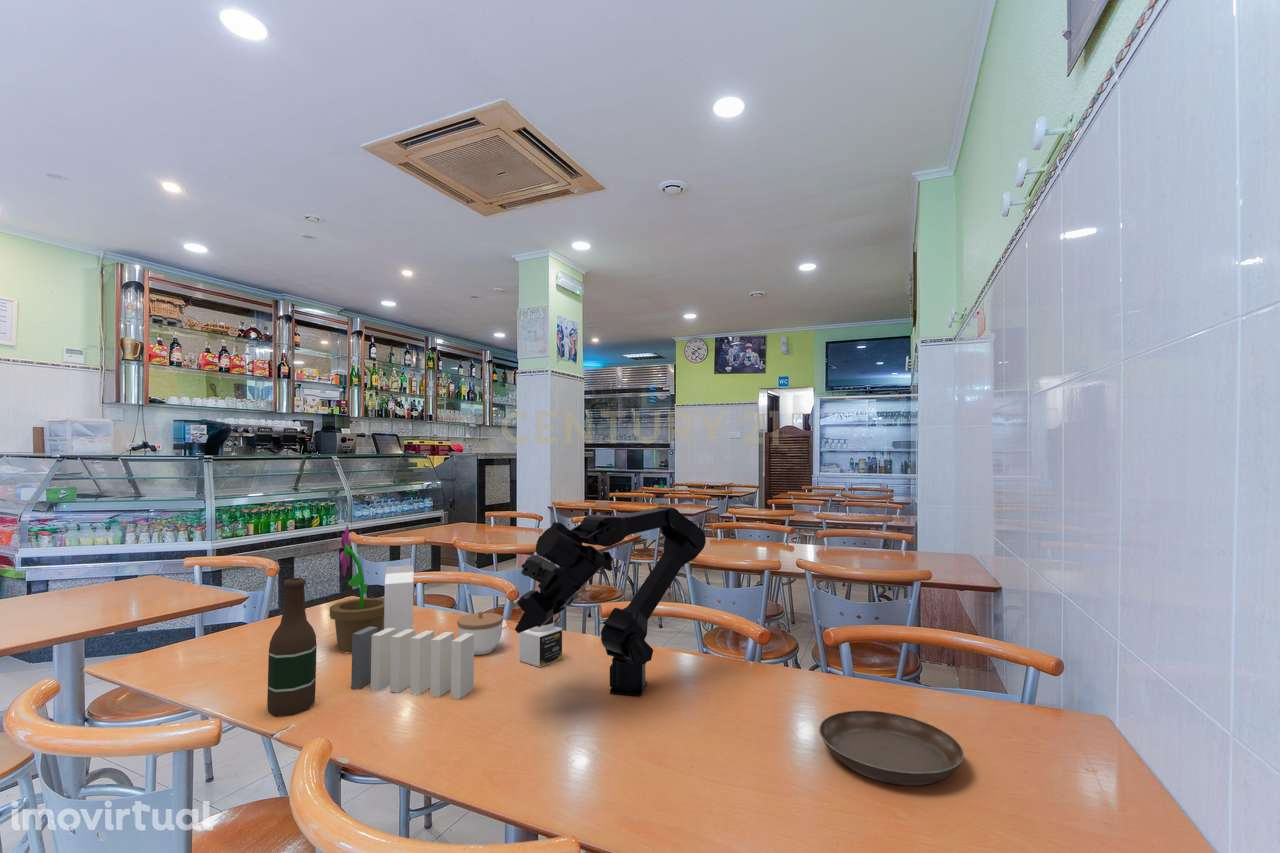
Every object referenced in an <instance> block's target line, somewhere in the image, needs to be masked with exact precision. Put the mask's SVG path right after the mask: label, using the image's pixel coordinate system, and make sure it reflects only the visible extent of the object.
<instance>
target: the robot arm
mask: <svg viewBox="0 0 1280 853" xmlns="http://www.w3.org/2000/svg"><path fill="white" fill-rule="evenodd" d="M655 529H659V531H660V534H661V535H662V536H663V537H664V541H663V553H662V555H661V556H660V558H659V559H658V561H657V562H656V564H655V565H654V566H653V568H652V570H651V571H650V573H649V574H648V575H647V577H646V579H644V581H643V584H642V585H641V586H640V588H639V589H638V591H636V593H635V595H634V596H633V598H632V599H631V601H630V602H629V604H628V605H627V606H626V607H624V608H623V609H621V608H619V607H614V608H612V610H611V612H610V614H609V615H608V617H607V619H606V620H604V621H603V622H602V624H603V626H602V629H601V631H600V635H601V636H600V637H601V638H600V640H601V645H602V646H603V647H604V648H605V652H606V655H607V656H610V657H613V658H612V661H611V662H612V663H611V664H610V665H609V687H610V689H609V694H615V695H626V696H627V695H628V696H635V697H637V696H639V697H640V696H643V693H644V691H645V690H646V688H647V686H648V681H646V665H647V662H650V661H652V658H653V657H652V656H653V654H654V653H653V652H654V648H652V647H651V645H650V644H649V643H647V642H646V641H645V639H646V638H647V634H648V621H649V619H650V617H651V616H652V614H653V613H654V611H655V610H656V608H657V607H658V604H659V603H660V601H661V600H662V598H663V597H664V596H665V593H667V591H668V589H670V588H669V587H670V586H671V584H672V583H673V581H675V578H676V577H677V575H678V574H679V571H681V569H682V568H683V567H684V566H685V565H686V564H688V563H690V562H691V561H693V560H695V559H696V558H697V557H698V556H699V555H700V553H701V552H702V551H703V550H704V548H705V546H706V543H707V541H706V540H707V539H706V535H705V532H704V530H703V529H702V527H699V526H697V524H696V523H695V522H693V521H691V520H690V519H688V518H687V517H685V516H684V515H683V514H682V513H681V512H680V511H679V510H678V509H677V508H676V507H673V506H660V505H659V506H658V507H656V508H650V509H646V510H641V511H637V512H630V513H625V514H620V515H610V514H609V515H605V514H588V515H586V516H584V518H583V520H582V521H581V523H579V524H578V525H576V526H575V527H573V528H572V529H569V528H567V527H566V525H564V523H561V522H557V521H553V522H552V524H551V526H550V527H549V528H547V529H546V530H544V532H543V533H542V534H541V535H540V536H538V539H537V540H536V544H535V552H536V554H537V555H536V554H533V555H531V556H528V557H527V559H525V562H524V563H522V564H521V569H522V570H521V572H520V573H521V574H522V575H523V576H525V577H529V579H533V581H535V582H537V583H538V585H537V587H538V588H539V591H538V590H534V589H533V590H532V589H531V590H529V591H527V592H526V593H524V594H523V595H521V597H520V598H519V599H518V600H516V602H517V606H518V607H519V608H520V609H521V610H522V611H523V614H522V615H521V617H520V619H519V621H518V622H517V625H516V626H515V628H514V630H515V631H516V633H517V634H520V633H521V632H523V631H526V630H528V629H531V628H533V627H536V626H538V627H541V626H542V625H543V624H545V623H546V622H547V621H549V620H550V618H551V617H552V616H553V615H554V616H555V615H557V614H559V613H561V612H562V611H564V610H565V606H567V607H569V606H570V605H572V604H574V602H575V601H576V600H577V599H578V598H579V591H581V590H582V589H583V588H584V587H586V584H587V583H589V581H590V580H591V579H592V578H593V577H594V576H595V575H596V574H597V573H598V572H599V571H600V569H602V568H603V569H605V570H606V571H608V572H611V571H612V570H613V566H612V561H613V558H612V555H611V553H610V551H600V550H599V549H597V548H595V547H594V546H599V547H605V548H607V547H612V546H614V545H616V544H619V543H620V542H622V541H623V540H625V538H626V537H629V536H630V535H634V534H638V533H643V532H647V531H652V530H655ZM583 544H587V545H583Z"/></svg>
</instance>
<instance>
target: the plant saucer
mask: <svg viewBox="0 0 1280 853" xmlns="http://www.w3.org/2000/svg"><path fill="white" fill-rule="evenodd" d="M818 728H819V730H818V731H819V735H820V738H821V739H822V741H823V742H824V744H825V746H826V747H827V748H828V750H829V751H830V753H831V754H833V756H834V757H835V758H836V759H837V760H838V761H839V762H840V763H842V764H843V765H844V766H846V767H848V768H849V769H850V770H852V771H853V772H856V773H858V774H860V775H863V776H864V777H867V778H870V779H872V780H875V781H879V782H884V783H886V784H887V783H888V784H893V785H901V786H923V785H924V786H925V785H930V784H935V783H937V782H939V781H942V780H943V779H945V778H947V777H949V775H952V773H954V772H955V771H956V770H957V769H958V768H959V766H960V765H961V763H962V762H963V760H964V756H965V753H964V750H963V747H962V746H961V745H960V743H959V742H958V741H957V740H956V739H955V738H954V737H953V736H951V735H950V734H948V733H947V732H945V731H943V730H942V729H940V728H938V727H937V726H934V725H931V724H929V723H927V722H925V721H922V720H919V719H916V718H913V717H909V716H905V715H902V714H897V713H891V712H888V711H887V712H886V711H876V710H865V709H864V710H847V711H841V712H838V713H834V714H831V715H829V716H827V717H826V718H824V719H823V720H822V721H821V723H820V725H819V726H818Z"/></svg>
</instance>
